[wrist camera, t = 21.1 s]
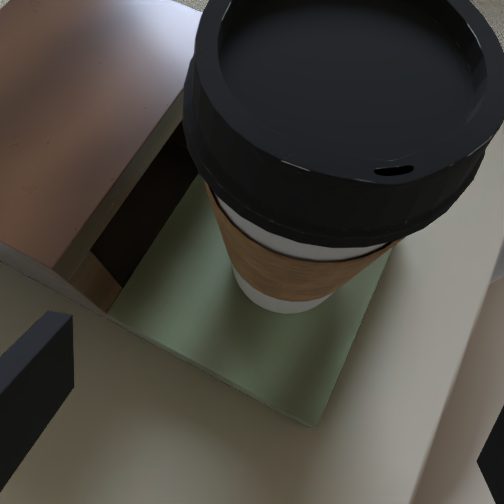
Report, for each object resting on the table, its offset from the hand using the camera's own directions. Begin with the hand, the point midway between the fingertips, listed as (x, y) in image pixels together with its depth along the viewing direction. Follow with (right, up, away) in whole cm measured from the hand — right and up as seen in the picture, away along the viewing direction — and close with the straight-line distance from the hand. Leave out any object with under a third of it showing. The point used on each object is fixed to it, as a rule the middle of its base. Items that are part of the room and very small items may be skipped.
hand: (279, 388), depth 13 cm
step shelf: (-4, +5, +14) cm, 16 cm away
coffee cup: (+1, +4, +11) cm, 11 cm away
